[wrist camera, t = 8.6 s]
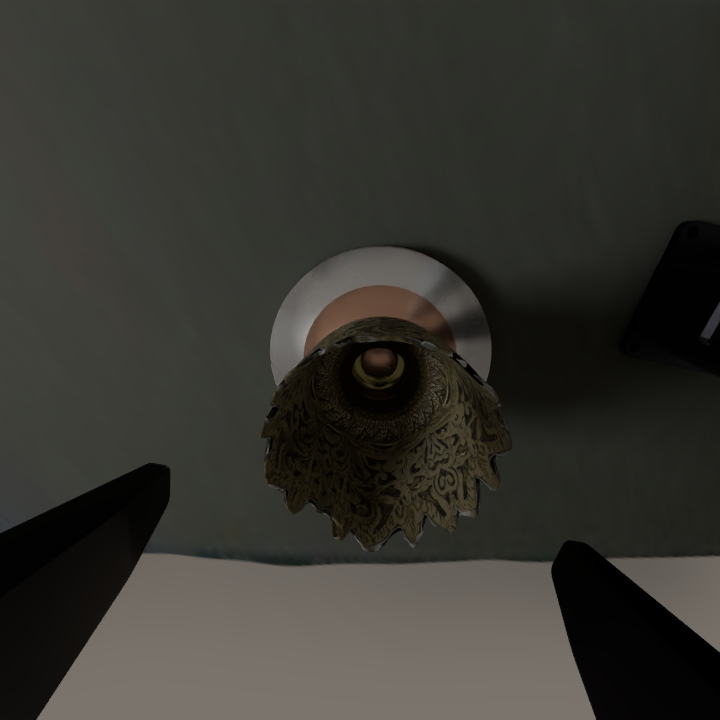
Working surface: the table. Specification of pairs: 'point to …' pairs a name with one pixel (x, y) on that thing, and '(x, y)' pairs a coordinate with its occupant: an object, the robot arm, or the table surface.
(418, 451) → the cup
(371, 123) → the table surface
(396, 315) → the rosette plate
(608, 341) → the table surface
